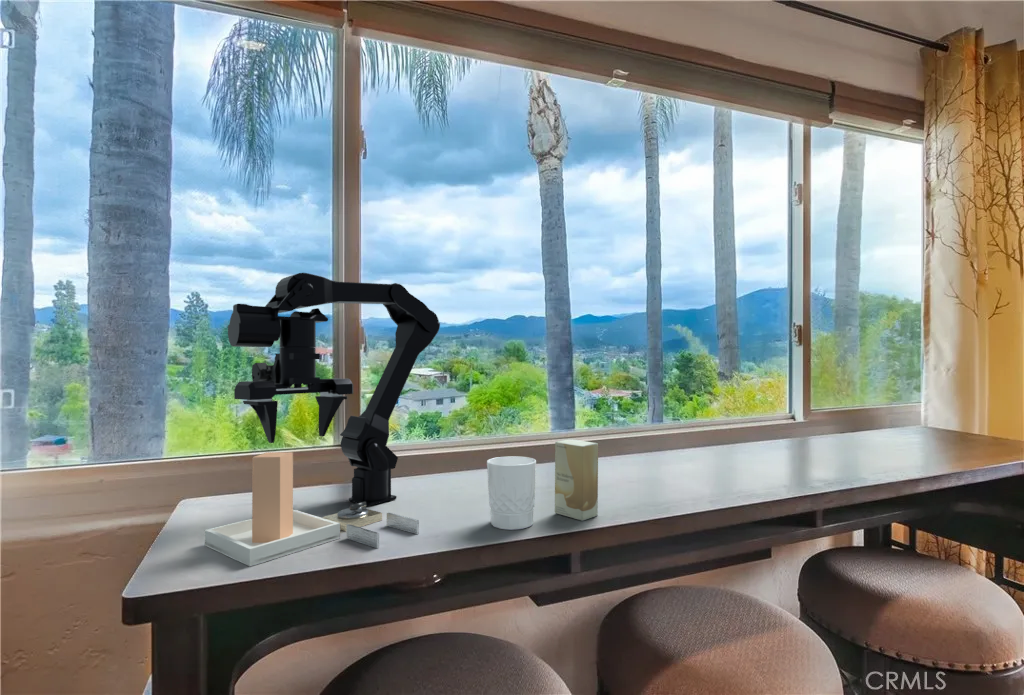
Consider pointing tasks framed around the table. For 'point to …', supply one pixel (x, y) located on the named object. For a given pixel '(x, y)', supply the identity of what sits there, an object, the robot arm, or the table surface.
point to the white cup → (511, 491)
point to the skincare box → (576, 479)
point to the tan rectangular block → (272, 496)
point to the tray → (240, 547)
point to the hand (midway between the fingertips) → (297, 439)
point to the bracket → (362, 516)
